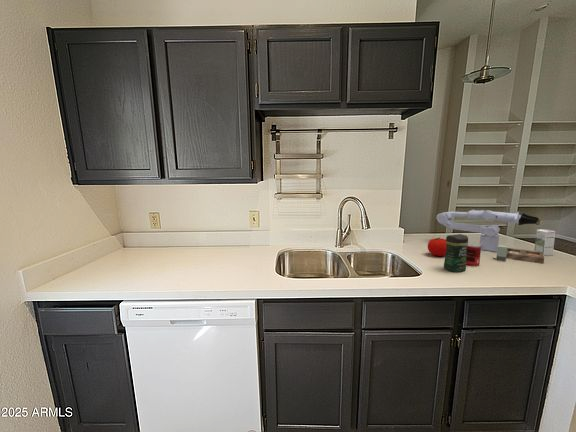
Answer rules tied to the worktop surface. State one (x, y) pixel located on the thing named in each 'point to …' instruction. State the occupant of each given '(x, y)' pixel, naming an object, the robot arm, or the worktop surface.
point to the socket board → (525, 255)
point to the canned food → (473, 254)
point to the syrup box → (545, 241)
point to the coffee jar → (456, 253)
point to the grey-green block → (501, 253)
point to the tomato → (437, 246)
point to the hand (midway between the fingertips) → (537, 220)
